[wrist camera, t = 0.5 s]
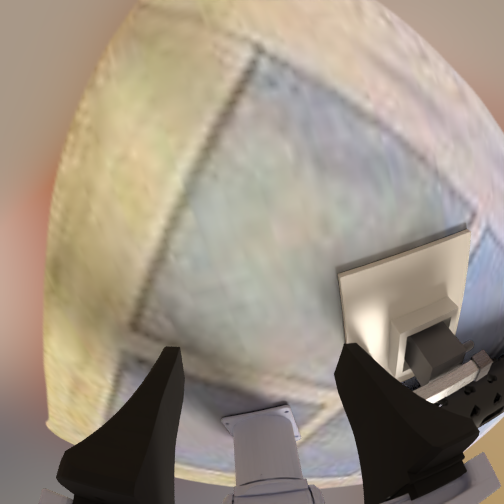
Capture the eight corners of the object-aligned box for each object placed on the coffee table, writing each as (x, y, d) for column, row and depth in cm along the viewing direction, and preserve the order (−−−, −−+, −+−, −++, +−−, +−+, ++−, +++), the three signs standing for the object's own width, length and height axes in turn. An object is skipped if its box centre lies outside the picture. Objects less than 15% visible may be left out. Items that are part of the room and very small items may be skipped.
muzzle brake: (405, 375, 30) (439, 438, 20) (521, 329, 31) (553, 364, 22) (384, 416, 34) (407, 472, 24) (500, 368, 35) (526, 403, 26)
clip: (449, 327, 25) (487, 374, 18) (357, 367, 26) (384, 428, 19) (452, 314, 24) (492, 361, 17) (356, 354, 25) (386, 418, 18)
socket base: (446, 356, 29) (455, 369, 27) (349, 397, 30) (356, 414, 27) (467, 229, 21) (484, 239, 19) (337, 273, 22) (349, 291, 20)
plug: (448, 330, 26) (475, 365, 21) (400, 353, 26) (425, 393, 21) (453, 303, 24) (485, 338, 19) (403, 326, 25) (432, 368, 19)
